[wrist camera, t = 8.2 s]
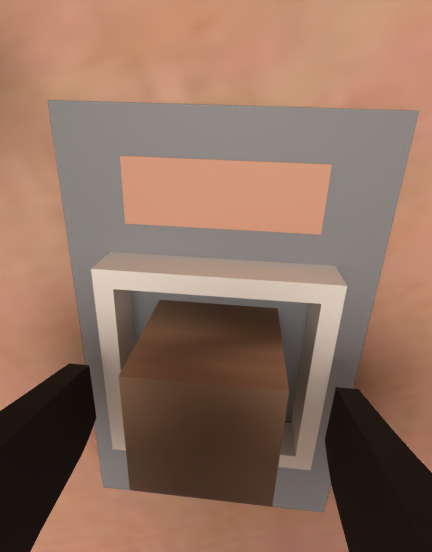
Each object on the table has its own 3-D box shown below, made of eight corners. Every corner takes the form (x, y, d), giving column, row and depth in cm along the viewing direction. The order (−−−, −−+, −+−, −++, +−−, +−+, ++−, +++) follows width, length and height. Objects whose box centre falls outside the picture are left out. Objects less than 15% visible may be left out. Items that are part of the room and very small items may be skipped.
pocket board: (411, 111, 9) (449, 107, 8) (321, 501, 16) (331, 550, 14) (56, 101, 10) (14, 95, 8) (107, 477, 17) (89, 520, 15)
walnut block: (277, 308, 12) (289, 391, 8) (266, 401, 13) (272, 506, 10) (159, 299, 12) (118, 375, 8) (162, 391, 14) (129, 490, 10)
